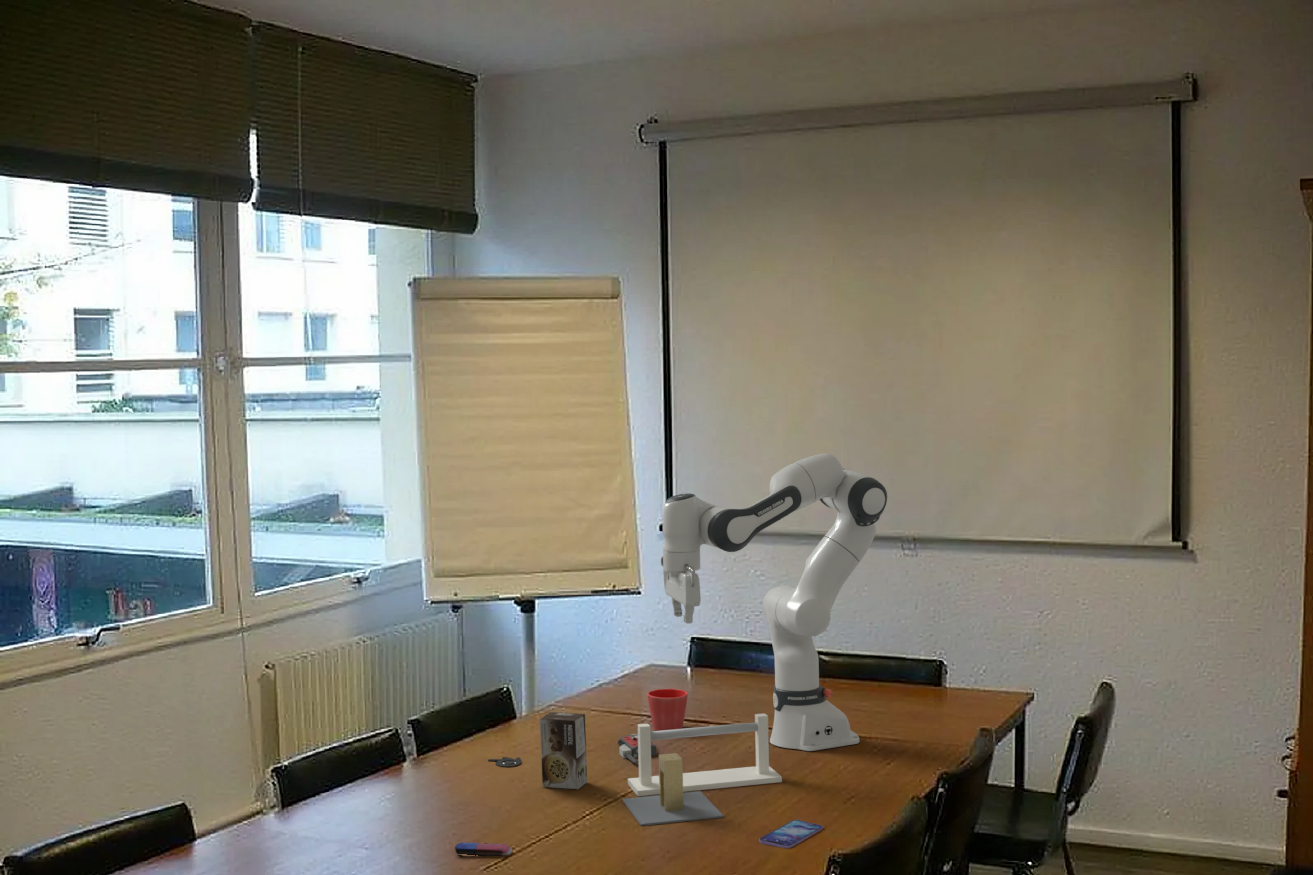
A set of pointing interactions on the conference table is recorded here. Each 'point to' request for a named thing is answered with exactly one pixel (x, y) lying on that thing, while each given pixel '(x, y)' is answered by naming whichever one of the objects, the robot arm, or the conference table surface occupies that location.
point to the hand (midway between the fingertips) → (683, 619)
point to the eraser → (483, 849)
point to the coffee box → (563, 750)
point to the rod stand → (706, 779)
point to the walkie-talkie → (632, 747)
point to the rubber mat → (654, 813)
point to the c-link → (671, 781)
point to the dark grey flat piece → (507, 762)
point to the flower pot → (667, 708)
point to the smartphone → (790, 834)
